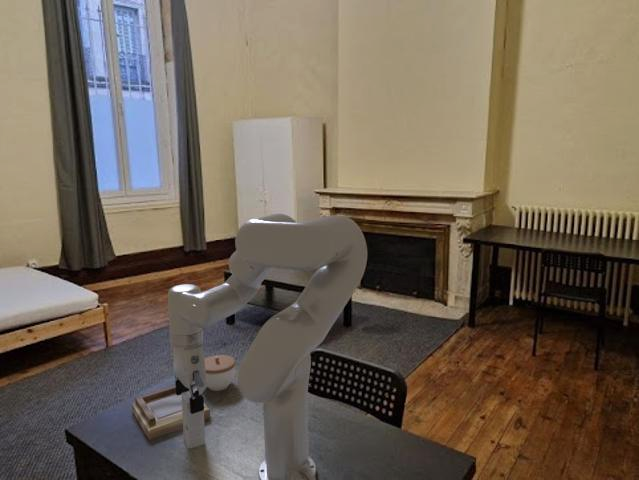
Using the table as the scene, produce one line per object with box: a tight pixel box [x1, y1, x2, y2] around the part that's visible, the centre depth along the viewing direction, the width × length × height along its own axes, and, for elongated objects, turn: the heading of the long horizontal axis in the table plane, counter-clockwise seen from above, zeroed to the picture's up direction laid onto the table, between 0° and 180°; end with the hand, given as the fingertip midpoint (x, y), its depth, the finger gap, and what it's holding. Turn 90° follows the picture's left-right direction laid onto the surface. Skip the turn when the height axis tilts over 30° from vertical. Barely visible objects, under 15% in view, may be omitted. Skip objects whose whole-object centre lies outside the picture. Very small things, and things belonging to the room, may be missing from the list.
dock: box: [131, 384, 211, 441], centre depth 124 cm, size 16×16×4 cm
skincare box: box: [181, 388, 206, 450], centre depth 112 cm, size 6×4×12 cm
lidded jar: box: [204, 354, 236, 392], centre depth 139 cm, size 11×11×9 cm
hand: (189, 402), depth 111 cm, fingers open, 9 cm apart
